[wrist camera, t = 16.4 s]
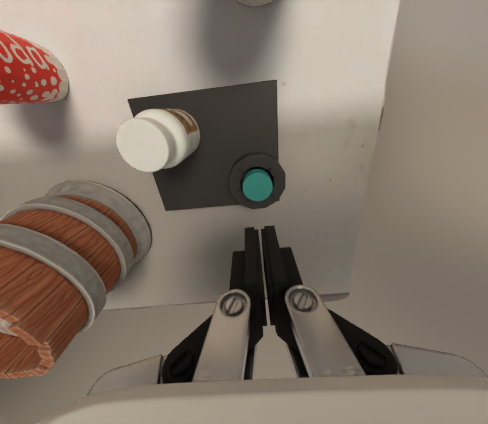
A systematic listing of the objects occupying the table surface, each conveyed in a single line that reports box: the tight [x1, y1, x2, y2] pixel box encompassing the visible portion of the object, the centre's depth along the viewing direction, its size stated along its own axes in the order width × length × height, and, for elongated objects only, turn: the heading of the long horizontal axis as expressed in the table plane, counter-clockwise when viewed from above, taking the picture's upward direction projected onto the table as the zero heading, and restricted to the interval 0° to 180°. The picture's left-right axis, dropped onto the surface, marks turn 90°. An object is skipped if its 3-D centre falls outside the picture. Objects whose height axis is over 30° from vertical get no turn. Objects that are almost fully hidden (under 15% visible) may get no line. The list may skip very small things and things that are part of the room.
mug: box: [0, 180, 151, 379], centre depth 21 cm, size 14×19×15 cm
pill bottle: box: [116, 109, 200, 172], centre depth 16 cm, size 4×4×8 cm
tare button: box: [243, 169, 273, 201], centre depth 20 cm, size 3×3×2 cm
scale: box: [128, 80, 285, 211], centre depth 20 cm, size 14×12×3 cm
